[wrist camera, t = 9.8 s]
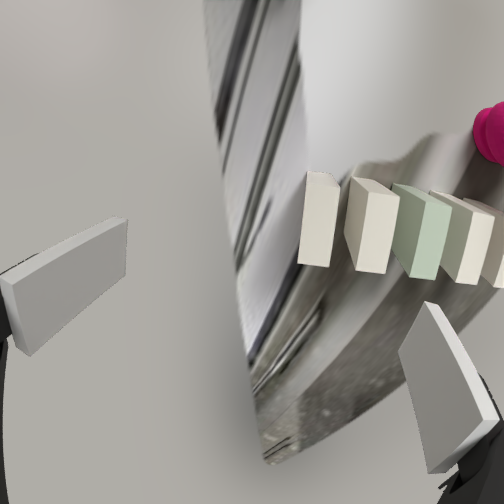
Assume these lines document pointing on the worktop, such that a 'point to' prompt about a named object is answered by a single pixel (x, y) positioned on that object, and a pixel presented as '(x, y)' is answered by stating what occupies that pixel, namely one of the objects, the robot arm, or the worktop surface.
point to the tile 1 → (318, 219)
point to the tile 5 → (493, 246)
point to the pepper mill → (490, 133)
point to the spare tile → (419, 231)
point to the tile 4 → (465, 239)
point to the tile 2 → (370, 224)
